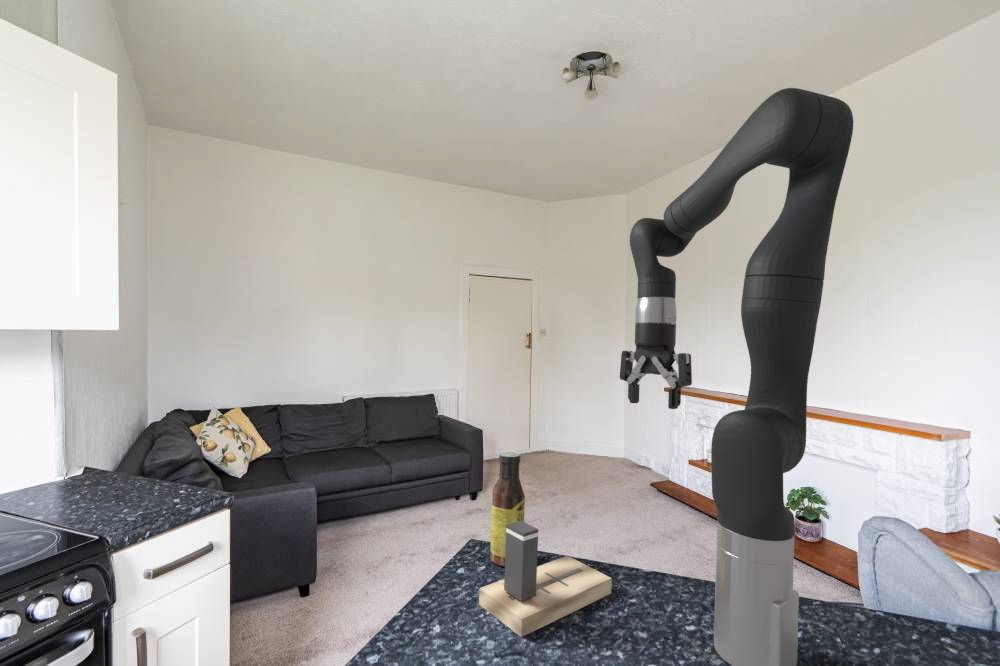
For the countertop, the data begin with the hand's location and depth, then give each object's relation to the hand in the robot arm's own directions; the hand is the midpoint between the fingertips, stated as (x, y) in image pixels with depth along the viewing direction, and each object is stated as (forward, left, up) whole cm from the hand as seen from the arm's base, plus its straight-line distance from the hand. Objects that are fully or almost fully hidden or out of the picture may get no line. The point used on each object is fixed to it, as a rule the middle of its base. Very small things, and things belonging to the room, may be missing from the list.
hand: (653, 405), depth 90 cm
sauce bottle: (+16, +22, -30) cm, 41 cm away
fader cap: (+2, +31, -27) cm, 41 cm away
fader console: (+2, +25, -30) cm, 39 cm away
